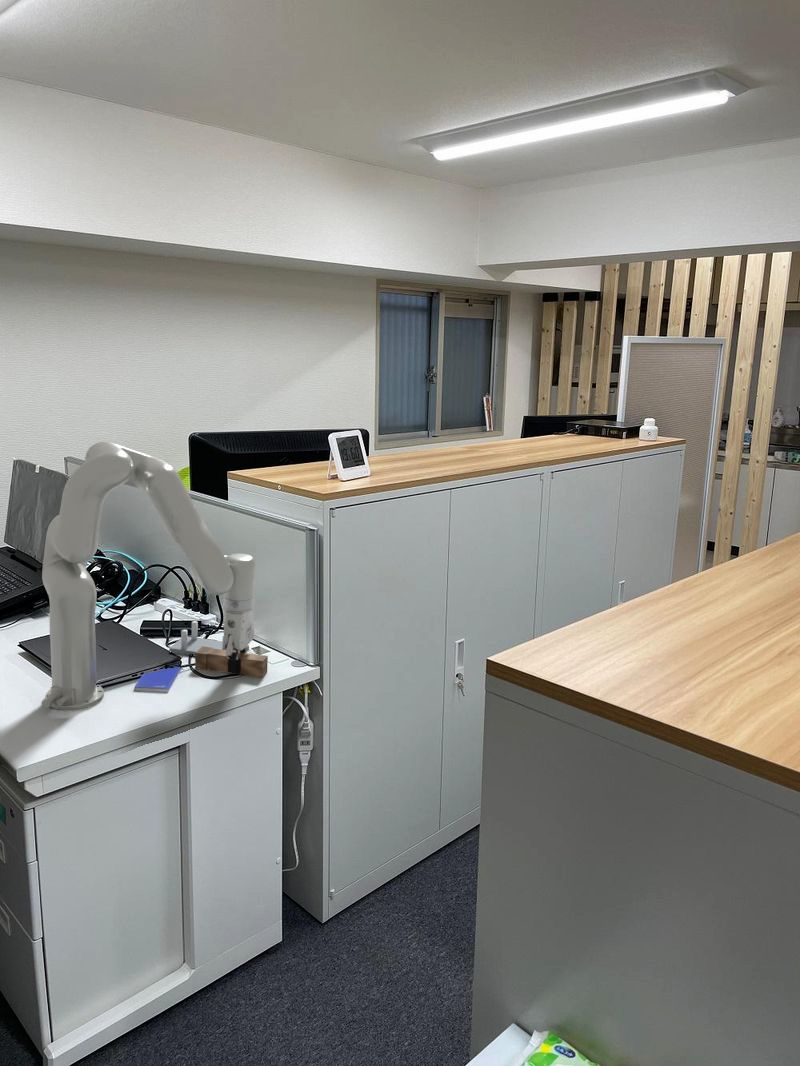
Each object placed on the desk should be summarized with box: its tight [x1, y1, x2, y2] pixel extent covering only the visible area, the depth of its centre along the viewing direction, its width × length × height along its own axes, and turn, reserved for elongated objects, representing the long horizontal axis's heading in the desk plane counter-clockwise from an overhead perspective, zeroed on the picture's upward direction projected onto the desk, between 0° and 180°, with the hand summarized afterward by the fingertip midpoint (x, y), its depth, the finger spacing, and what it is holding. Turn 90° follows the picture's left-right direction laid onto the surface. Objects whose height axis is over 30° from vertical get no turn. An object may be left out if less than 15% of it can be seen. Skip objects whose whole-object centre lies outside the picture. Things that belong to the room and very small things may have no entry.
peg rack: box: [168, 620, 250, 657], centre depth 214 cm, size 19×9×6 cm, turn 80°
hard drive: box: [133, 666, 182, 693], centre depth 195 cm, size 2×8×12 cm
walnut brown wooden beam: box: [194, 646, 269, 678], centre depth 203 cm, size 18×4×4 cm, turn 80°
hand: (237, 669), depth 204 cm, fingers closed on walnut brown wooden beam, 3 cm apart
